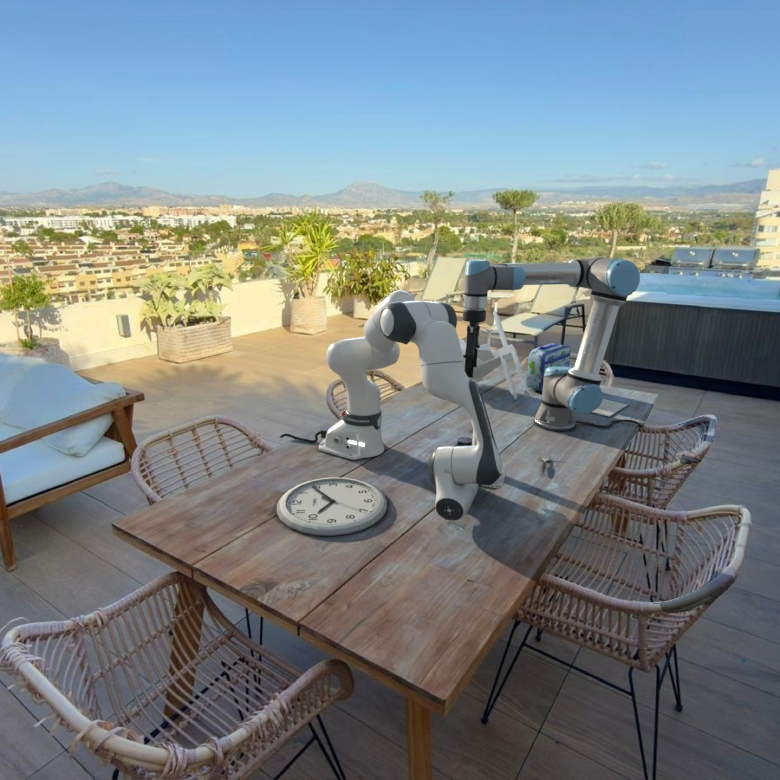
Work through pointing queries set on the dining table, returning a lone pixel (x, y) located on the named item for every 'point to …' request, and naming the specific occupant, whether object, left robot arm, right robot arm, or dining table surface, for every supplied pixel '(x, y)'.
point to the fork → (545, 460)
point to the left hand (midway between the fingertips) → (473, 462)
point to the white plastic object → (496, 360)
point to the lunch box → (545, 363)
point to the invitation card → (609, 407)
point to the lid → (464, 441)
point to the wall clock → (331, 506)
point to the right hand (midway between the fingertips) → (470, 371)
